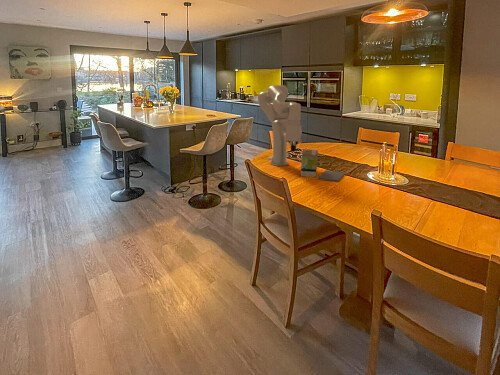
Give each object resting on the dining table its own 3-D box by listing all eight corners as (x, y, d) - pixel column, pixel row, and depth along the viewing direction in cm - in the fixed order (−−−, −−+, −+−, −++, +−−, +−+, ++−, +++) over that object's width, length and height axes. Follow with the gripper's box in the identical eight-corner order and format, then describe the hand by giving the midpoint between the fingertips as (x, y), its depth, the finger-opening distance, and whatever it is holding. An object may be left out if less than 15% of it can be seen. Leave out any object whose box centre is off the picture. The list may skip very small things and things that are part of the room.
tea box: (316, 177, 217) (317, 154, 212) (300, 176, 219) (301, 153, 214) (316, 170, 231) (318, 149, 226) (301, 169, 233) (302, 148, 228)
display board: (317, 178, 213) (317, 177, 213) (325, 171, 228) (325, 170, 228) (337, 182, 208) (338, 180, 207) (345, 174, 223) (345, 172, 222)
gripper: (281, 123, 219) (280, 151, 226) (303, 124, 213) (302, 153, 219) (285, 121, 226) (284, 148, 232) (307, 123, 219) (305, 151, 225)
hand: (293, 151), depth 225 cm, fingers closed
